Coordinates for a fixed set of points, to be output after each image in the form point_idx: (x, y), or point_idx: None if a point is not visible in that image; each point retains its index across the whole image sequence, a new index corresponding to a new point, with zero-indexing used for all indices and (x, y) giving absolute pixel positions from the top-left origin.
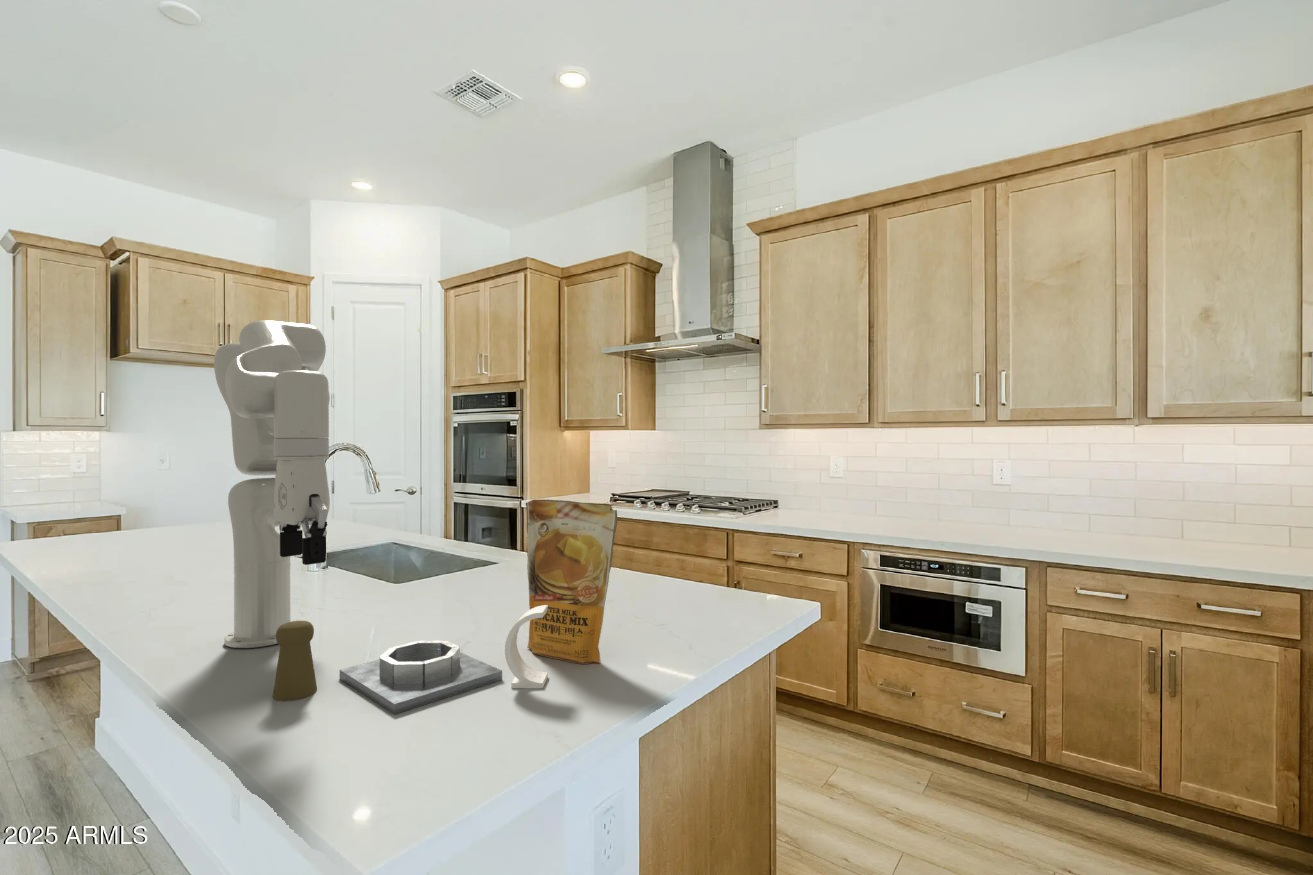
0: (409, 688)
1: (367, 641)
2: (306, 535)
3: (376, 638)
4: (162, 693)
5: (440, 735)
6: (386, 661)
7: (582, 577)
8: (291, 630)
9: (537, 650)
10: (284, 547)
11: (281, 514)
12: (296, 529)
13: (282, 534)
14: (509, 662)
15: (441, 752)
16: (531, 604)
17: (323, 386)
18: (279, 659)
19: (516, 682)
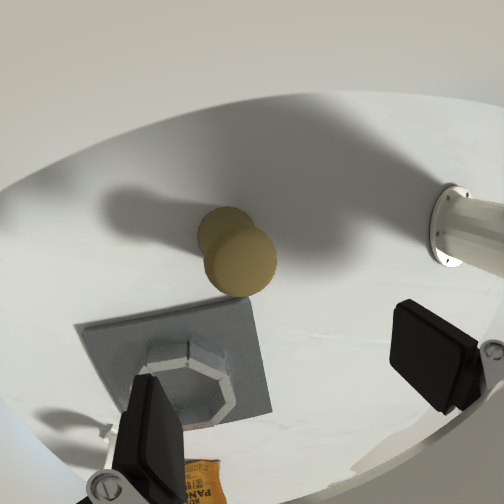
0: (123, 359)
1: (372, 337)
2: (110, 483)
3: (374, 346)
4: (336, 92)
5: (29, 344)
6: (163, 360)
7: None
8: (210, 255)
9: (193, 464)
10: (416, 328)
11: (443, 499)
12: (455, 403)
13: (457, 350)
14: (109, 442)
15: (4, 332)
16: (223, 499)
17: None
18: (226, 223)
19: (112, 430)
